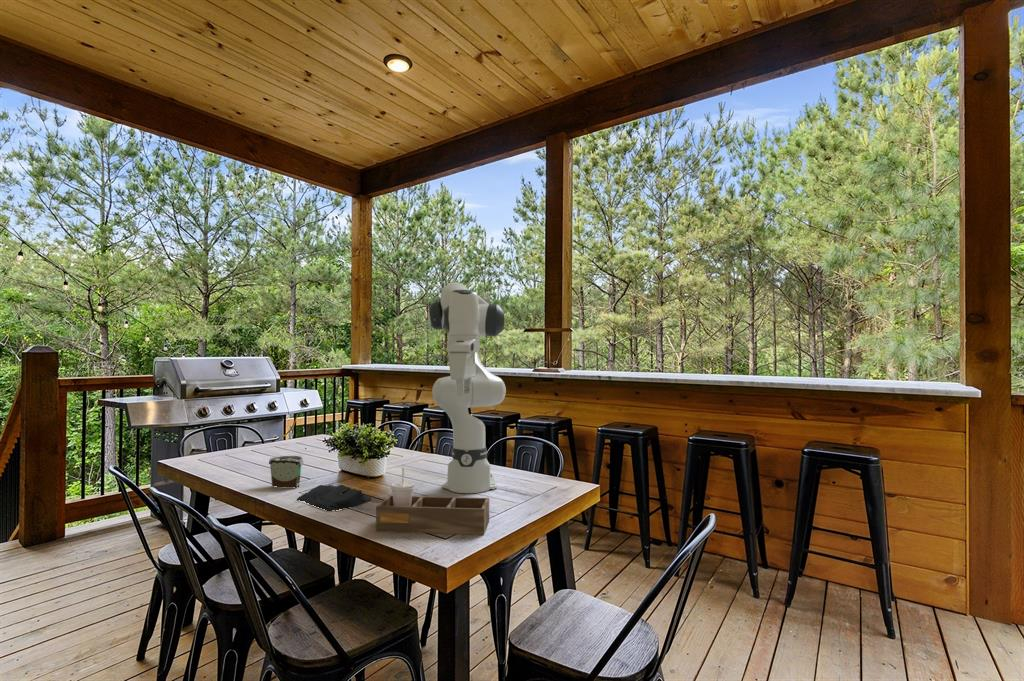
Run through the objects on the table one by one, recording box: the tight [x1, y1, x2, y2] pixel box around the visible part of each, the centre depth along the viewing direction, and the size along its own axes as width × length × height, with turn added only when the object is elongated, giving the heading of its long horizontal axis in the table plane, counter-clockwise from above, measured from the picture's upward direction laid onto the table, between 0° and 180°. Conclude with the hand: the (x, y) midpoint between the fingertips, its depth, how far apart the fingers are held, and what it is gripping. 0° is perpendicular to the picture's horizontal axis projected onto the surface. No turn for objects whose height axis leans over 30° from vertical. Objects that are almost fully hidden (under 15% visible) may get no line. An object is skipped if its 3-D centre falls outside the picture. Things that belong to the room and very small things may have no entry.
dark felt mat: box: [296, 484, 372, 512], centre depth 158 cm, size 15×22×5 cm
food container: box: [268, 455, 304, 489], centre depth 176 cm, size 12×6×10 cm, turn 80°
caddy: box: [375, 495, 490, 536], centre depth 135 cm, size 10×29×6 cm, turn 85°
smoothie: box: [390, 467, 415, 506], centre depth 136 cm, size 6×6×14 cm
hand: (463, 394), depth 141 cm, fingers open, 8 cm apart
